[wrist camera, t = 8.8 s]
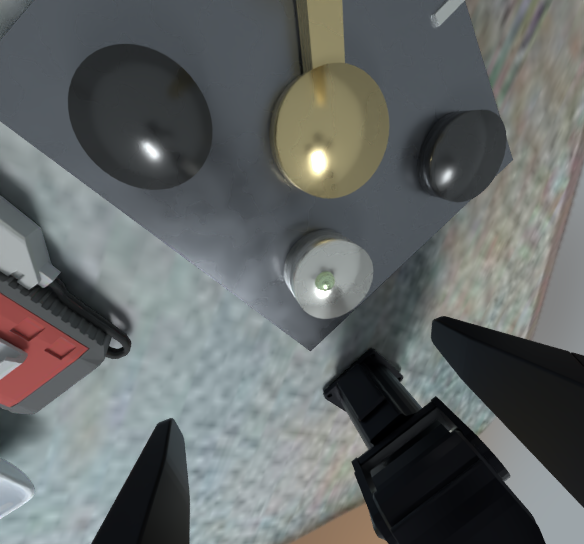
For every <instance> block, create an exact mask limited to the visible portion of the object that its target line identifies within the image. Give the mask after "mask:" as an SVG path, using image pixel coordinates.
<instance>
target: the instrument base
mask: <svg viewBox="0 0 584 544" xmlns="http://www.w3.org/2000/svg"><path fill="white" fill-rule="evenodd" d="M342 6H343V29H344V52H345V63H347V64H350V65H354V66H356V67H358V68H360V69H362V70H363V71H365V72H366V73H367V74H369V75H370V76H371V78H372V79H373V80H374V81H375V82H376V83H377V85H378V86H379V88H380V90H381V92H382V93H383V96H384V98H385V101H386V105H387V108H388V114H389V137H388V143H387V147H386V150H385V153H384V156H383V158H382V161H381V163H380V165H379V166H378V168H377V170H376V171H375V173H374V174H373V175H372V177H371V178H370V179H369V180H368V181H367V182H366V183H365V184H364V185H363V186H361V187H360V188H359V189H357V190H356V191H354V192H353V193H350V194H348V195H346V196H343V197H339V198H320V197H316V196H313V195H311V194H309V193H306V192H305V191H303V190H301V189H299V188H297V187H296V186H294V185H292V184H291V183H290V182H289V181H288V180H287V179H286V178H285V177H284V176H283V175H282V173H281V172H280V170H279V169H278V167H277V165H276V163H275V161H274V158H273V155H272V152H271V147H270V139H269V129H270V121H271V117H272V113H273V110H274V107H275V104H276V102H277V100H278V98H279V96H280V95H281V93H282V92H283V91H284V89H285V88H286V87H287V86H288V85H289V84H290V83H291V82H292V81H293V80H294V79H295V78H297V77H298V76H300V75H302V74H303V65H302V55H301V45H300V35H299V25H298V15H297V5H296V0H34V1H33V2H32V3H31V4H30V6H29V7H28V8H27V9H26V10H25V12H24V13H23V14H22V15H21V16H20V18H19V19H18V20H17V21H16V22H15V24H14V25H13V26H12V27H11V28H10V30H9V31H8V32H7V33H6V34H5V36H4V37H3V38H2V39H1V40H0V121H1V122H2V123H3V124H5V125H6V126H7V127H9V128H10V129H12V130H13V131H14V132H16V133H17V134H18V135H20V136H21V137H22V138H24V139H25V140H26V141H28V142H29V143H30V144H32V145H33V146H34V147H36V148H37V149H38V150H40V151H41V152H43V153H44V154H45V155H47V156H48V157H49V158H51V159H52V160H53V161H55V162H56V163H57V164H59V165H60V166H61V167H63V168H64V169H65V170H67V171H68V172H69V173H71V174H72V175H74V176H75V177H76V178H78V179H79V180H80V181H82V182H83V183H84V184H86V185H87V186H88V187H90V188H91V189H92V190H94V191H95V192H96V193H98V194H99V195H101V196H102V197H103V198H105V199H106V200H107V201H109V202H110V203H111V204H113V205H114V206H115V207H117V208H118V209H119V210H121V211H122V212H123V213H125V214H126V215H127V216H129V217H130V218H132V219H133V220H134V221H136V222H137V223H138V224H140V225H141V226H142V227H144V228H145V229H146V230H148V231H149V232H150V233H152V234H153V235H154V236H156V237H157V238H158V239H160V240H161V241H163V242H164V243H165V244H167V245H168V246H169V247H171V248H172V249H173V250H175V251H176V252H177V253H179V254H180V255H181V256H183V257H184V258H185V259H187V260H188V261H189V262H191V263H192V264H194V265H195V266H196V267H198V268H199V269H200V270H202V271H203V272H204V273H206V274H207V275H208V276H210V277H211V278H212V279H214V280H215V281H216V282H218V283H219V284H220V285H222V286H223V287H225V288H226V289H227V290H229V291H230V292H231V293H233V294H234V295H235V296H237V297H238V298H239V299H241V300H242V301H243V302H245V303H246V304H247V305H249V306H250V307H252V308H253V309H254V310H256V311H257V312H258V313H260V314H261V315H262V316H264V317H265V318H266V319H268V320H269V321H270V322H272V323H273V324H274V325H276V326H277V327H278V328H280V329H281V330H283V331H284V332H285V333H287V334H288V335H289V336H291V337H292V338H293V339H295V340H296V341H297V342H299V343H300V344H301V345H303V346H304V347H305V348H307V349H308V350H309V351H311V350H312V349H314V348H315V347H316V346H317V345H318V344H319V343H320V342H321V341H322V340H323V339H324V338H325V337H326V336H327V335H328V334H329V333H330V332H331V331H333V330H334V329H335V328H336V327H337V326H338V325H339V324H340V323H341V322H342V321H343V320H344V319H345V318H346V317H347V316H348V315H349V314H351V313H352V312H353V311H354V310H355V309H356V308H357V307H358V306H359V305H360V304H361V303H362V302H363V301H364V300H365V299H366V298H367V297H368V296H370V295H371V294H372V293H373V292H374V291H375V290H376V289H377V288H378V287H379V286H380V285H381V284H382V283H383V282H384V281H385V280H386V279H387V278H389V277H390V276H391V275H392V274H393V273H394V272H395V271H396V270H397V269H398V268H399V267H400V266H401V265H402V264H403V263H404V262H405V261H407V260H408V259H409V258H410V257H411V256H412V255H413V254H414V253H415V252H416V251H417V250H418V249H419V248H420V247H421V246H422V245H423V244H424V243H426V242H427V241H428V240H429V239H430V238H431V237H432V236H433V235H434V234H435V233H436V232H437V231H438V230H439V229H440V228H441V227H442V226H444V225H445V224H446V223H447V222H448V221H449V220H450V219H451V218H452V217H453V216H454V215H455V214H456V213H457V212H458V211H459V210H460V209H461V208H463V207H464V206H465V205H466V204H467V203H468V202H469V201H470V200H471V199H473V198H474V197H476V196H477V195H479V194H480V193H481V192H483V191H484V190H485V189H486V188H487V187H488V185H489V184H490V183H491V182H492V180H493V179H494V177H495V176H496V175H497V174H498V173H500V172H501V171H502V170H503V169H504V168H505V167H506V166H507V165H508V164H509V163H510V162H511V161H512V160H513V158H512V155H511V152H510V148H509V145H508V142H507V138H506V130H505V126H504V124H503V122H502V120H501V118H500V115H499V112H498V109H497V105H496V102H495V99H494V95H493V92H492V89H491V86H490V82H489V79H488V76H487V72H486V69H485V66H484V62H483V59H482V56H481V52H480V49H479V46H478V43H477V39H476V36H475V33H474V29H473V26H472V23H471V19H470V16H469V13H468V9H467V6H466V3H465V0H342Z"/></svg>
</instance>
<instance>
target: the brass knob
mask: <svg viewBox="0 0 584 544" xmlns="http://www.w3.org/2000/svg"><path fill="white" fill-rule="evenodd" d="M296 5H297V15H298V25H299V35H300V45H301V55H302V65H303V74H302V75H300V76H298V77H297V78H295V79H294V80H293V81H292V82H291V83H290V84H289V85H288V86H287V87H286V88H285V89H284V91H283V92H282V93H281V95H280V96H279V98H278V100H277V102H276V104H275V107H274V110H273V113H272V117H271V121H270V129H269V139H270V147H271V152H272V155H273V158H274V161H275V163H276V165H277V167H278V169H279V170H280V172H281V173H282V175H283V176H284V177H285V178H286V179H287V180H288V181H289V182H290V183H291V184H292V185H294V186H296V187H297V188H299V189H301V190H303V191H305V192H306V193H309V194H311V195H313V196H316V197H320V198H339V197H343V196H346V195H348V194H350V193H353V192H354V191H356V190H357V189H359V188H360V187H361V186H363V185H364V184H365V183H366V182H367V181H368V180H369V179H370V178H371V177H372V175H373V174H374V173H375V171H376V170H377V168H378V166H379V165H380V163H381V161H382V158H383V156H384V153H385V150H386V147H387V143H388V137H389V114H388V108H387V105H386V101H385V98H384V96H383V93H382V92H381V90H380V88H379V86H378V85H377V83H376V82H375V81H374V80H373V79H372V78H371V76H370V75H369V74H367V73H366V72H365V71H363V70H362V69H360V68H358V67H356V66H354V65H350V64H347V63H345V52H344V29H343V6H342V0H296Z"/></svg>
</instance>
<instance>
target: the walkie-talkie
mask: <svg viewBox="0 0 584 544" xmlns="http://www.w3.org/2000/svg"><path fill="white" fill-rule="evenodd" d="M60 273H61V272H60V271H59V270H58V269H56V268H55V267H54V266H52V264H51V260H50V257H49V253H48V250H47V247H46V243H45V240H44V236H43V233H42V229H41V228H40V227H39V226H38V225H37V224H36V223H34V222H33V221H32V220H31V219H29V218H28V217H27V216H26V215H24V214H23V213H22V212H21V211H20V210H18V209H17V208H16V207H15V206H13V205H12V204H11V203H10V202H8V201H7V200H6V199H5V198H3V197H2V196H1V195H0V407H1V408H2V409H4V410H8V411H10V412H12V413H18V414H35V413H36V412H38V411H39V410H41V409H42V408H43V407H45V406H46V405H48V404H49V403H50V402H52V401H53V400H54V399H56V398H57V397H58V396H60V395H61V394H62V393H64V392H65V391H66V390H68V389H69V388H70V387H72V386H73V385H74V384H76V383H77V382H78V381H80V380H81V379H82V378H84V377H85V376H86V375H88V374H89V373H91V372H92V371H93V370H94V369H96V368H97V367H98V366H99V365H100V364H101V363H102V362H103V361H104V359H105V356H106V357H108V358H111V359H119V358H121V357H123V356H126V355H127V354H128V353H129V351H130V348H131V340H130V339H129V337H128V336H127V335H126V334H125V333H124V332H122V331H121V330H120V329H118V328H117V327H115V326H114V325H113V324H112V323H110V322H108V321H107V320H106V318H104V317H101V316H100V315H99V313H97V312H94V311H93V310H92V309H91V308H90V307H89V306H88V307H87V306H86V305H85V304H83V302H82V301H79V300H78V299H76V298H75V296H73V295H71V294H70V293H69V292H68V291H67V289H66V287H65V285H64V283H63V282H62V281H61V280H60V279H59V278H58V277H57V276H58V275H59V274H60ZM112 337H113V338H114V339H116V340H117V341H118V342H120V343H121V344H122V346H123V347H122V348H119V349H115V348H112V347H110V346H109V344H110V341H111V338H112Z"/></svg>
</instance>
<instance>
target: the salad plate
mask: <svg viewBox="0 0 584 544" xmlns="http://www.w3.org/2000/svg"><path fill="white" fill-rule="evenodd" d="M34 494H35V488H34V485H33V483H32V482H31V480H30V479H29V478H28V477H27V475H26V474H24V473H23V472H22V471H21V470H20V469H18V468H17V467H16V466H14V465H13V464H11V463H10V462H8V461H6V460H4V459H2V458H0V519H1V518H2V517H4V516H6V515H7V514H9V513H11V512H12V511H14V510H15V509H17V508H18V507H20V506H22V505H23V504H25V503H26V502H27V501H29V500H30V499H31V498H32V497H33V496H34Z"/></svg>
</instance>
